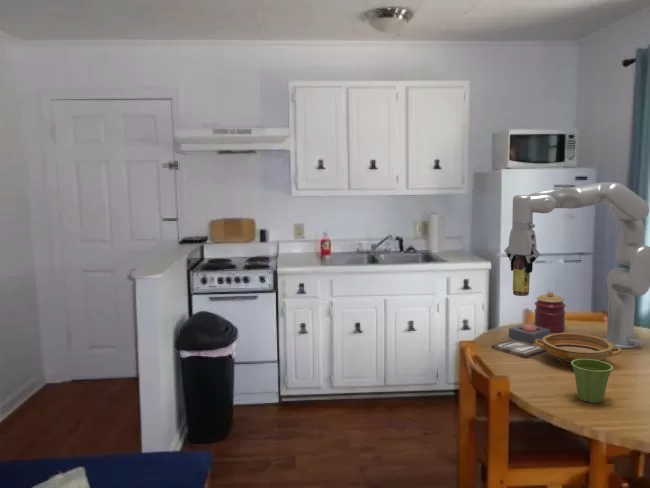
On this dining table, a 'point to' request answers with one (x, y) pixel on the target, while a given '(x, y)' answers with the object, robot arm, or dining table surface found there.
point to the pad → (519, 348)
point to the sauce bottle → (520, 277)
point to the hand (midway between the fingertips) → (521, 271)
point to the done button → (529, 327)
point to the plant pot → (591, 379)
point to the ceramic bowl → (577, 347)
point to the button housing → (528, 334)
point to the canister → (550, 313)
